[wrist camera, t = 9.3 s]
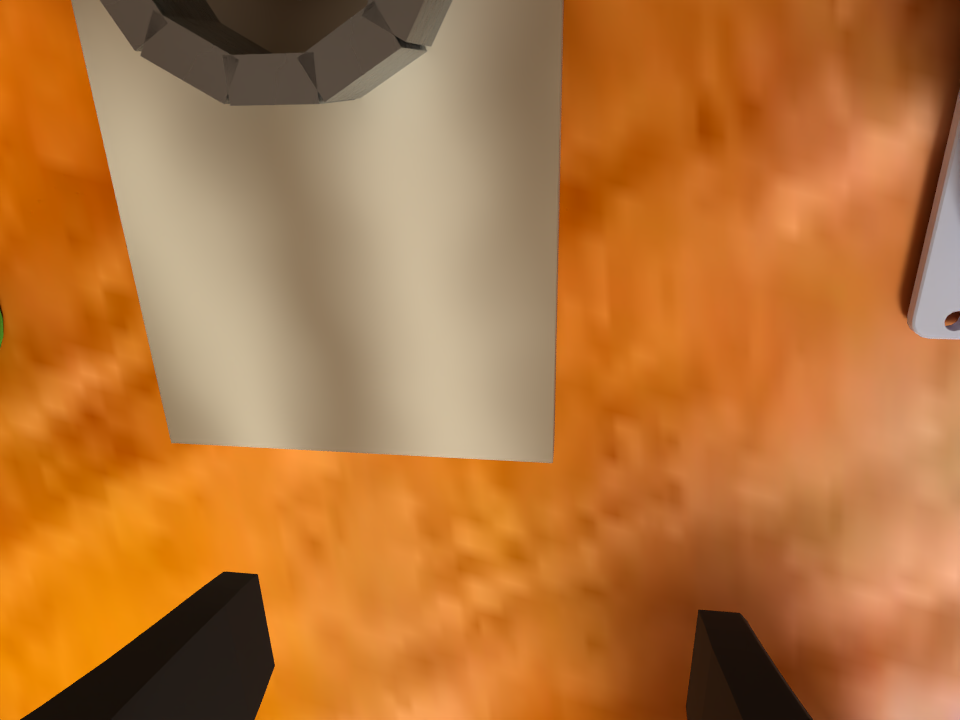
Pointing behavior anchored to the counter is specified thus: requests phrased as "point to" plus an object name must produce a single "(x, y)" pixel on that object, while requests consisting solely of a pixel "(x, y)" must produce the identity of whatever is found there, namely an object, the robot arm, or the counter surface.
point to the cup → (1, 328)
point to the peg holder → (340, 216)
